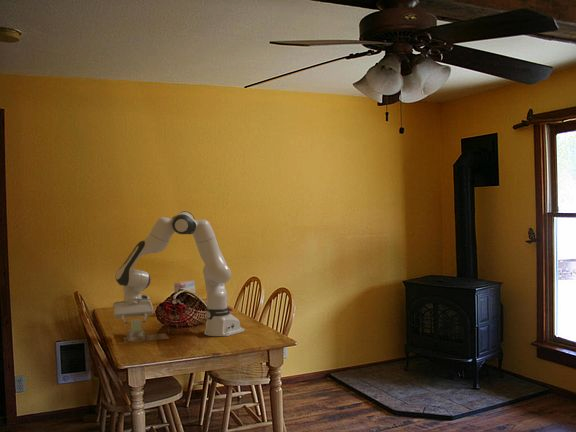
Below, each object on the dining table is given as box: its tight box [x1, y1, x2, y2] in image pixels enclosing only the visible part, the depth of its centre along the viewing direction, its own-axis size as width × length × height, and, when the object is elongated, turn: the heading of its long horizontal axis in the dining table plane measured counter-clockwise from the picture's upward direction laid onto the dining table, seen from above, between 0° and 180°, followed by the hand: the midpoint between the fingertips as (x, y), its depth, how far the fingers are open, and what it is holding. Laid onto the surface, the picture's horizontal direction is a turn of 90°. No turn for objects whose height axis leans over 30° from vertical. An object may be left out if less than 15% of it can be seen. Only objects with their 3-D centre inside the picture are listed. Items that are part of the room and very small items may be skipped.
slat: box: [130, 318, 142, 333], centre depth 280 cm, size 5×2×10 cm, turn 112°
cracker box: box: [173, 279, 196, 295], centre depth 349 cm, size 14×6×21 cm, turn 149°
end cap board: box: [122, 328, 170, 344], centre depth 282 cm, size 22×12×6 cm, turn 112°
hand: (134, 322), depth 283 cm, fingers open, 8 cm apart
